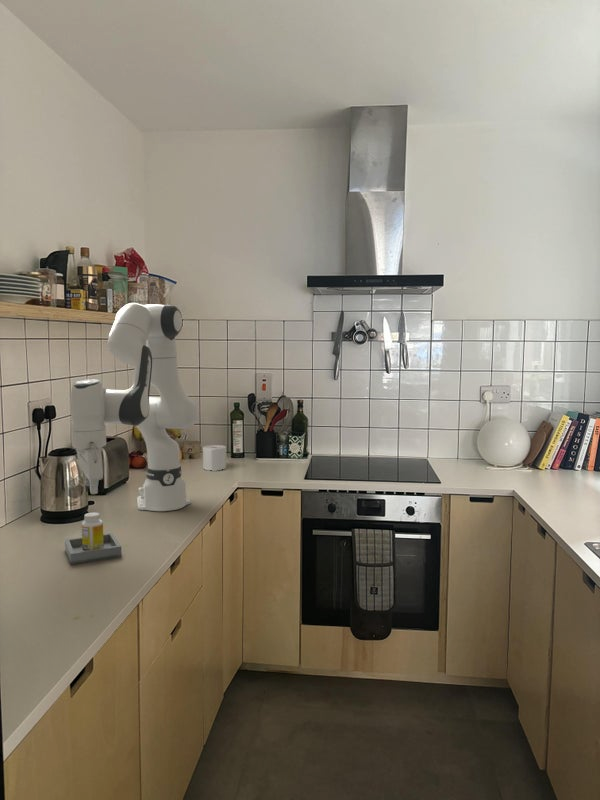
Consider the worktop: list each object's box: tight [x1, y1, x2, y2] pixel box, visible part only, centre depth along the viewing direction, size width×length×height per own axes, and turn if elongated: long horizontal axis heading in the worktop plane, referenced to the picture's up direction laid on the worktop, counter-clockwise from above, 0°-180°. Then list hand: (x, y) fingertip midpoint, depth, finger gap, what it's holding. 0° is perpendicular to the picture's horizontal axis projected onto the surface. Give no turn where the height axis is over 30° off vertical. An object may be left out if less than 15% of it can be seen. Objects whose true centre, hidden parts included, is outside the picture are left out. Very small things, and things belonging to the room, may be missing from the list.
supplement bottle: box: [81, 512, 104, 551], centre depth 167 cm, size 6×6×10 cm
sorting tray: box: [64, 532, 123, 566], centre depth 167 cm, size 13×13×3 cm
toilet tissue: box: [202, 444, 227, 472], centre depth 277 cm, size 11×12×10 cm
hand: (91, 489), depth 166 cm, fingers open, 8 cm apart
